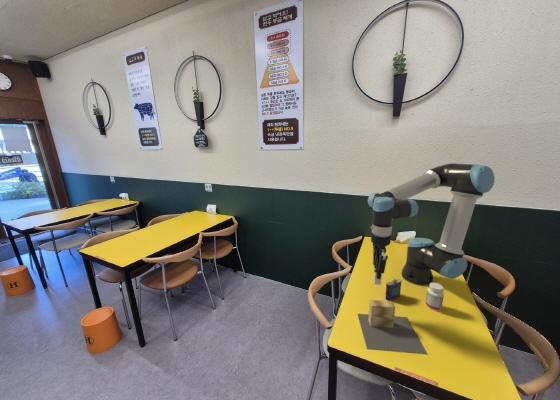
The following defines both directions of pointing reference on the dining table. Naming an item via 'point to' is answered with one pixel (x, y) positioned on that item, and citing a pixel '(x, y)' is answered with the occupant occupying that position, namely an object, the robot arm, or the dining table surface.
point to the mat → (391, 336)
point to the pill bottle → (434, 297)
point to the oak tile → (381, 313)
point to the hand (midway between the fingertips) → (377, 283)
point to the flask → (393, 289)
